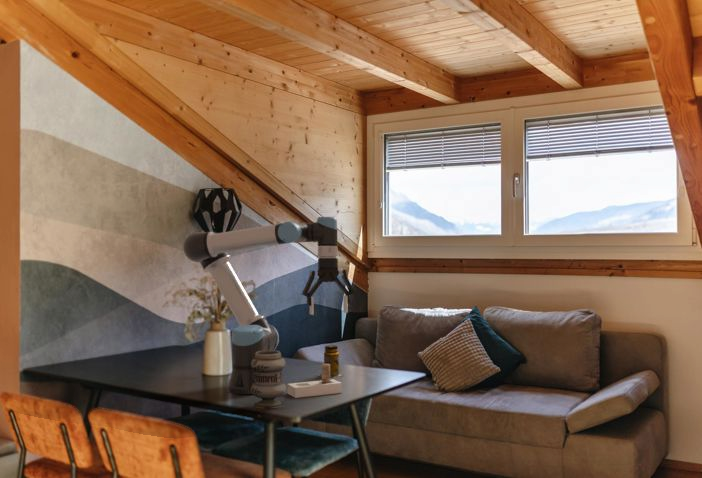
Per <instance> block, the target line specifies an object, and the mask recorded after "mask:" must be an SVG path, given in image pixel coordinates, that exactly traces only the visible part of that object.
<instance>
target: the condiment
mask: <svg viewBox="0 0 702 478" xmlns="http://www.w3.org/2000/svg"><path fill="white" fill-rule="evenodd" d="M338 350H339V348H338V346H337V345H335V344H334V345H333V344H332V345H331V344H330V345H325V347H324V354H323V364H330V378H332V377H333V378H334V377H341V376H343V374H339V373H340V362H339V360H340V356H339V351H338ZM316 375H317V376H318V377H321V378H322V373H320V374H319V373H318V374H316Z"/></svg>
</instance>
